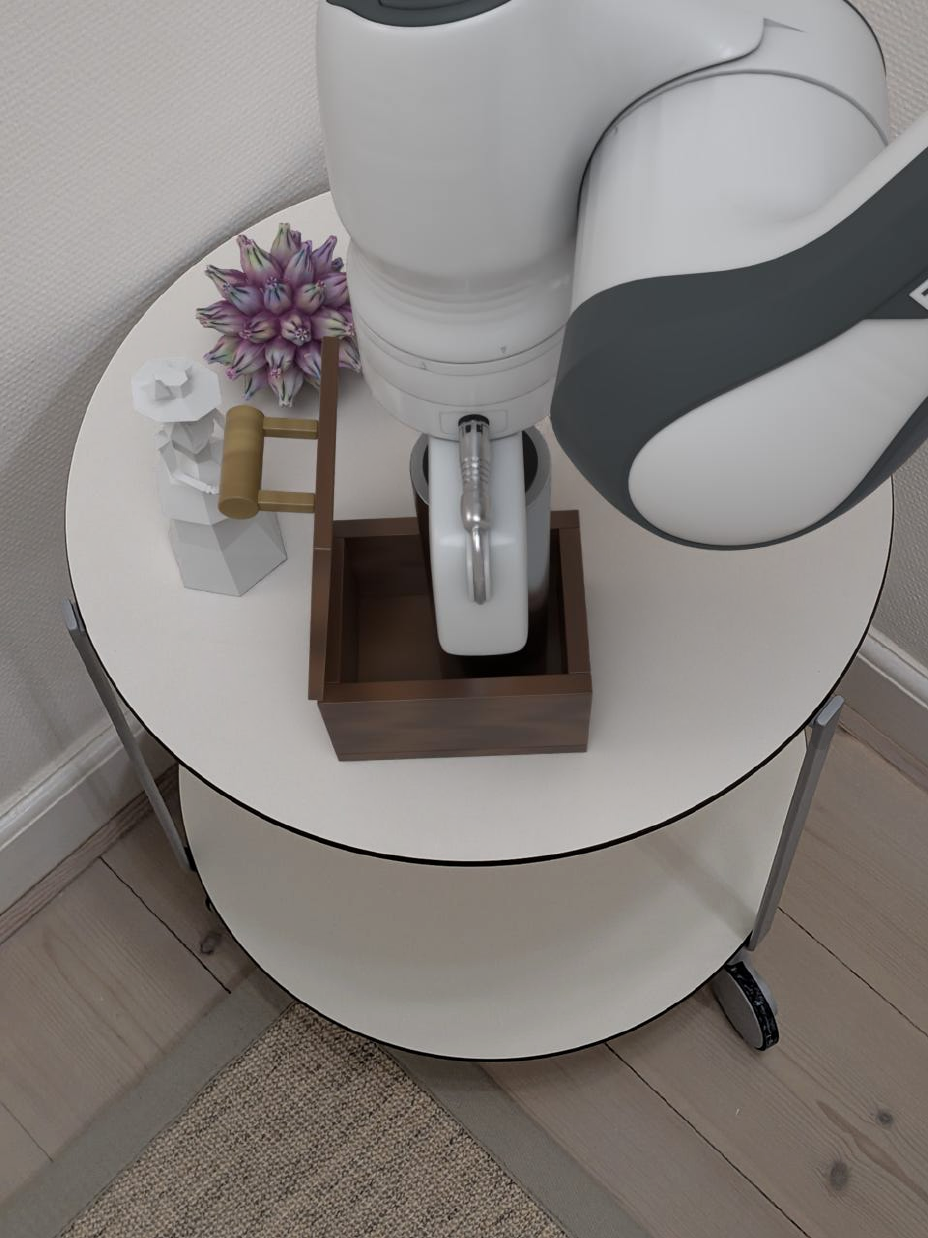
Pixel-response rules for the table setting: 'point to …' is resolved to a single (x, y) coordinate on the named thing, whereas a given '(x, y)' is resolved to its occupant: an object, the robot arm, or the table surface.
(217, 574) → the figurine
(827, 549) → the table surface
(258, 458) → the lid
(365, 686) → the chest
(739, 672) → the table surface
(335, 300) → the flower
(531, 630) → the flask
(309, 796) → the table surface
